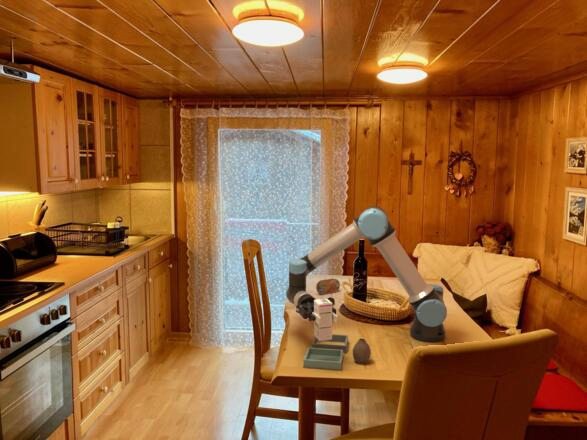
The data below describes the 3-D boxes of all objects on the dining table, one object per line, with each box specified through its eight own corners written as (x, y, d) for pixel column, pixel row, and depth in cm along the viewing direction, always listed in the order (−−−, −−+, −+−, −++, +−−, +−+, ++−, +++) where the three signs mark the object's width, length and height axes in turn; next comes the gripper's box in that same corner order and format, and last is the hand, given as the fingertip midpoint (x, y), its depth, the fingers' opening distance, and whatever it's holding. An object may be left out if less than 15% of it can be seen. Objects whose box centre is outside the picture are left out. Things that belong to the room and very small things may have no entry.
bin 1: (348, 342, 205) (348, 335, 204) (346, 353, 193) (346, 346, 192) (315, 339, 207) (315, 333, 207) (311, 350, 195) (311, 343, 195)
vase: (354, 356, 190) (354, 335, 188) (371, 358, 188) (372, 337, 186) (351, 363, 183) (351, 341, 182) (369, 366, 181) (369, 343, 180)
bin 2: (343, 357, 189) (343, 349, 189) (340, 370, 177) (340, 362, 177) (307, 354, 192) (307, 347, 191) (303, 367, 180) (303, 359, 179)
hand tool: (327, 303, 258) (327, 295, 258) (334, 304, 257) (334, 296, 257) (317, 314, 241) (318, 305, 240) (325, 315, 239) (325, 306, 239)
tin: (318, 295, 273) (318, 281, 272) (315, 294, 275) (315, 280, 274) (340, 292, 280) (340, 278, 279) (337, 290, 283) (337, 276, 282)
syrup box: (332, 339, 181) (333, 302, 180) (317, 341, 180) (318, 303, 178) (327, 334, 187) (328, 298, 185) (312, 335, 185) (313, 299, 183)
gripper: (326, 309, 203) (351, 327, 181) (283, 313, 196) (304, 333, 175) (326, 291, 202) (351, 308, 180) (283, 295, 195) (304, 313, 174)
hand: (328, 320), depth 177 cm, fingers closed on syrup box, 6 cm apart
